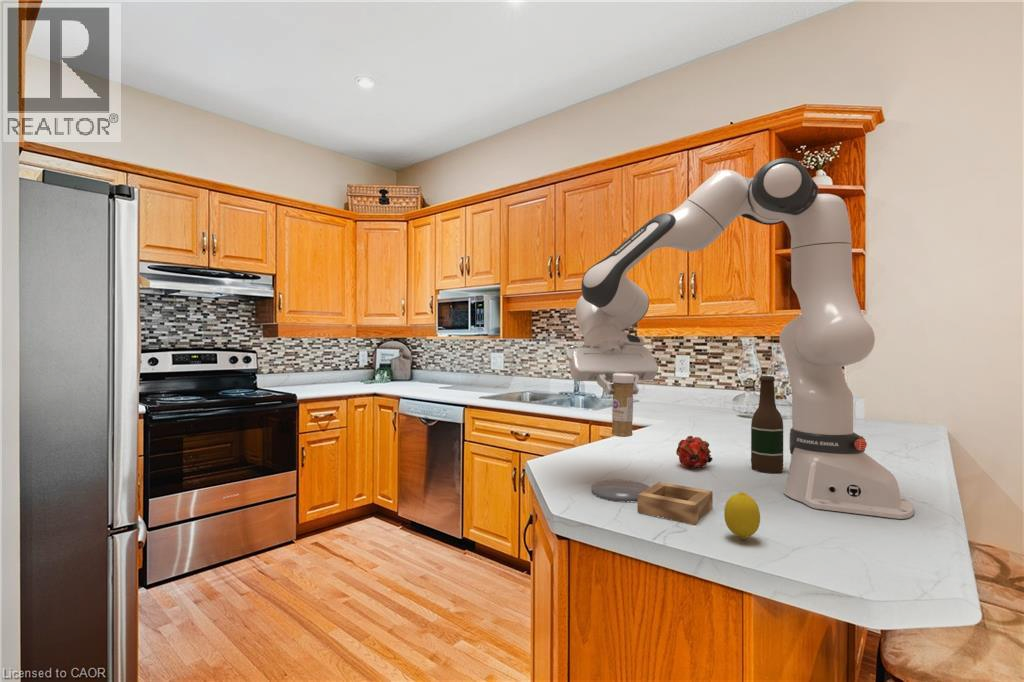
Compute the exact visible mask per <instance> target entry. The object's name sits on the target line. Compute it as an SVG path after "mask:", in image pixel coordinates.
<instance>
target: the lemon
mask: <svg viewBox="0 0 1024 682" xmlns="http://www.w3.org/2000/svg"><path fill="white" fill-rule="evenodd" d="M723 511H724V514H723V516H724V522H725V525H726V526H727V528H728V530H729V531H730V532H731V533H733V534H734V535H736V536H737V537H738V538H739V539H740V540H745V539H746V538H747V537H751V536H752V535H754V534H756V532H758V530H759V527H760V523H761V512H760V508H759V505H758V503H757V502H756V501H755V499H754V498H753V497H752V496H750V495H748V494H746V493H745V492H744V491H740V492H738V493H736V494H735V493H734V494H732V495H731V496H730V497H729V498H728V499H727V500H726V503H725V507H724V510H723Z"/></svg>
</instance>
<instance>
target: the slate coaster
mask: <svg viewBox="0 0 1024 682" xmlns="http://www.w3.org/2000/svg"><path fill="white" fill-rule="evenodd" d="M649 487H650V485H648V484H645V483H642V482H638V481H633V480H626V479H625V480H624V479H606V480H600V481H597V482H595V483H593V484H591V493H592V495H593V496H595V495H596V496H595V497H596V498H599V497H600V499H602V498H603V499H602V500H605V499H608V500H607V501H610V500H613V501H612V502H617V501H625V502H624V503H631V502H630V501H638V494H639V493H641V492H643V491H644V490H646V489H648V488H649ZM627 501H629V502H627Z"/></svg>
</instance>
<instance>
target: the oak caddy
mask: <svg viewBox="0 0 1024 682" xmlns="http://www.w3.org/2000/svg"><path fill="white" fill-rule="evenodd" d="M713 492H714V491H713V490H708V489H703V488H696V487H691V486H685V485H681V484H680V485H679V484H673V483H668V482H663V481H657V482H656V483H654V484H653V485H651V486H649V488H648V489H646V490H644V491H643V492H641V493H639V494H638V502H637V513H638V512H641V513H640V514H642V513H645V514H644V515H647V514H649V515H648V516H652V515H654V516H653V517H656V516H659V517H658V518H661V517H664V518H663V519H665V518H667V519H666V520H670V519H672V521H675V520H676V521H675V522H679V523H684V522H685V523H684V524H689V525H693V524H694V525H696V524H697V523H698V522H699V520H700V519H701V518H702V517H703V516H704V515H705V514H706V513H707V514H709V513H710V512H711V511H712V510H711V509H712V508H713V500H714V499H713V498H714V497H713ZM707 514H706V515H707ZM706 515H705V516H706ZM705 516H704V517H705ZM704 517H703V518H704ZM703 518H702V519H703ZM700 521H701V520H700Z"/></svg>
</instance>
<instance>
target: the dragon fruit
mask: <svg viewBox="0 0 1024 682" xmlns="http://www.w3.org/2000/svg"><path fill="white" fill-rule="evenodd" d="M709 447H710V443H709V442H708V441H706V440H703V439H702V438H701V437H699V436H698V437H697V436H695V437H694V436H693V435H688V436H687V437H686V438H685V439H681V440H680V441H679V442H678V444H677V449H676V450H675V451H676V456H678V461H679V463H680V464H683V466H684V467H685V468H686V469H687V470H692V469H694V468H695V467H698V468H704V467H705V466H706V465H707V464H709V463H711V462H712V461H713V457H712V455H711V454H710V453H711V452H712V451H711V450H710V448H709Z"/></svg>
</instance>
